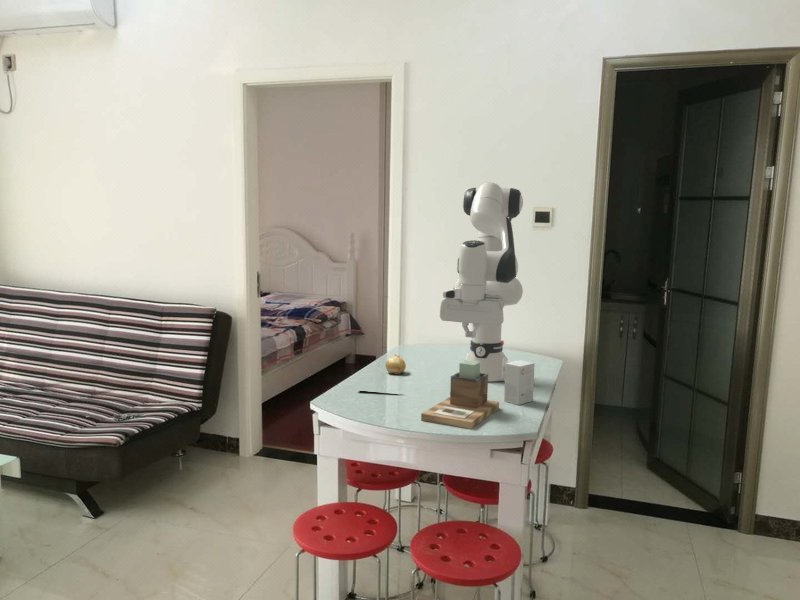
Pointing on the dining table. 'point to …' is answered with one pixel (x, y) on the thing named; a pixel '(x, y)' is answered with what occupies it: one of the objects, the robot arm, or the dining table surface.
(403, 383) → the dining table surface
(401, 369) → the onion
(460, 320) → the robot arm
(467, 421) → the oak base board
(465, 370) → the sage block
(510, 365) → the small box
